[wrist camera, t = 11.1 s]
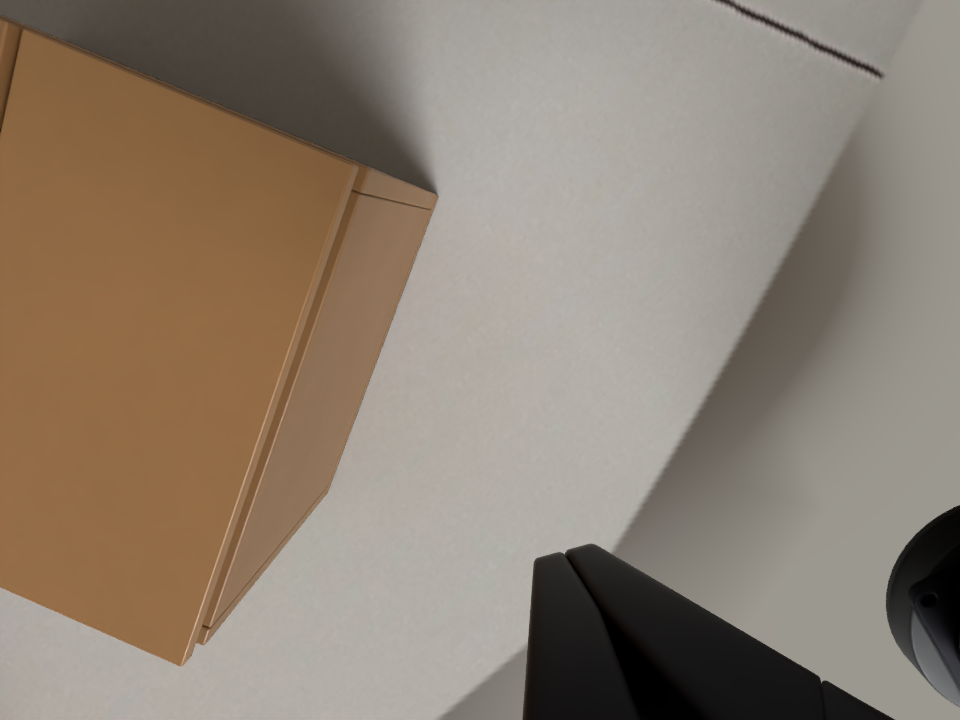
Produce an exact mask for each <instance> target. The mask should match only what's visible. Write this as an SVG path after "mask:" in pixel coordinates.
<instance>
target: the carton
mask: <svg viewBox="0 0 960 720" xmlns="http://www.w3.org/2000/svg"><path fill="white" fill-rule="evenodd" d="M23 29H28V30H31V31H33V32H36V33H38V34H41V35H43V36H45V37H48V38H50V39H53V40H55V41H58V42H60V43H62V44H65V45H67V46H70V47H72V48H74V49H77V50H79V51H82V52H84V53H87V54H89V55H91V56H94V57H96V58H99V59H101V60H103V61H106V62H108V63H111V64H113V65H116V66H118V67H120V68H123V69H125V70H128V71H130V72H133V73H135V74H137V75H140V76H142V77H145V78H147V79H149V80H152V81H154V82H157V83H159V84H162V85H164V86H166V87H169V88H171V89H174V90H176V91H178V92H181V93H183V94H186V95H188V96H191V97H193V98H195V99H198V100H200V101H203V102H205V103H207V104H210V105H212V106H215V107H217V108H220V109H222V110H224V111H227V112H229V113H232V114H234V115H237V116H239V117H241V118H244V119H246V120H249V121H251V122H253V123H256V124H258V125H261V126H263V127H266V128H268V129H270V130H273V131H275V132H278V133H280V134H282V135H285V136H287V137H290V138H292V139H295V140H297V141H299V142H302V143H304V144H307V145H309V146H311V147H314V148H316V149H319V150H321V151H324V152H326V153H328V154H331V155H333V156H336V157H338V158H341V159H343V160H345V161H348V162H350V163H353V164H355V165H357V166H358V172H357V175H356V178H355V181H354V184H353V187H352V189H351V192H350V195H349V198H348V201H347V204H346V207H345V210H344V213H343V216H342V219H341V222H340V224H339V227H338V230H337V233H336V236H335V239H334V242H333V245H332V248H331V251H330V254H329V256H328V259H327V262H326V265H325V268H324V271H323V274H322V277H321V280H320V283H319V286H318V289H317V291H316V294H315V297H314V300H313V303H312V306H311V309H310V312H309V315H308V318H307V321H306V324H305V326H304V329H303V332H302V335H301V338H300V341H299V344H298V347H297V350H296V353H295V356H294V358H293V361H292V364H291V367H290V370H289V373H288V376H287V379H286V382H285V385H284V388H283V391H282V393H281V396H280V399H279V402H278V405H277V408H276V411H275V414H274V417H273V420H272V423H271V425H270V428H269V431H268V434H267V437H266V440H265V443H264V446H263V449H262V452H261V455H260V458H259V460H258V463H257V466H256V469H255V472H254V475H253V478H252V481H251V484H250V487H249V490H248V493H247V495H246V498H245V501H244V504H243V507H242V510H241V513H240V516H239V519H238V522H237V525H236V527H235V530H234V533H233V536H232V539H231V542H230V545H229V548H228V551H227V554H226V557H225V560H224V562H223V565H222V568H221V571H220V574H219V577H218V580H217V583H216V586H215V589H214V592H213V595H212V597H211V600H210V603H209V606H208V609H207V612H206V615H205V618H204V621H203V624H202V627H201V629H200V632H199V635H198V638H197V641H196V643H199V644H201V645H205V644H206V643H207V642H208V640H209V639H210V638H211V637H212V635H213V634H214V633H215V632H216V631H217V629H218V628H219V627H220V626H221V624H222V623H223V622H224V621H225V619H226V618H227V617H228V616H229V614H230V613H231V612H232V611H233V609H234V608H235V607H236V606H237V604H238V603H239V602H240V601H241V600H242V598H243V597H244V596H245V595H246V593H247V592H248V591H249V590H250V588H251V587H252V586H253V585H254V583H255V582H256V581H257V580H258V578H259V577H260V576H261V575H262V573H263V572H264V571H265V570H266V568H267V567H268V566H269V565H270V564H271V562H272V561H273V560H274V559H275V557H276V556H277V555H278V554H279V552H280V551H281V550H282V549H283V547H284V546H285V545H286V544H287V542H288V541H289V540H290V539H291V537H292V536H293V535H294V534H295V533H296V531H297V530H298V529H299V528H300V526H301V525H302V524H303V523H304V521H305V520H306V519H307V518H308V516H309V515H310V514H311V513H312V511H313V510H314V509H315V508H316V506H317V505H318V504H319V503H320V502H321V500H322V499H323V498H324V497H325V495H326V494H327V493H328V490H329V488H330V485H331V482H332V480H333V477H334V474H335V472H336V469H337V466H338V464H339V461H340V458H341V456H342V453H343V450H344V448H345V445H346V442H347V440H348V437H349V434H350V432H351V429H352V426H353V424H354V421H355V418H356V416H357V413H358V410H359V408H360V405H361V402H362V400H363V397H364V394H365V392H366V389H367V386H368V384H369V381H370V378H371V376H372V373H373V370H374V368H375V365H376V362H377V360H378V357H379V354H380V352H381V349H382V346H383V344H384V341H385V338H386V336H387V333H388V330H389V328H390V325H391V322H392V320H393V317H394V314H395V312H396V309H397V306H398V304H399V301H400V298H401V296H402V293H403V290H404V288H405V285H406V282H407V280H408V277H409V274H410V272H411V269H412V266H413V264H414V261H415V258H416V256H417V253H418V250H419V248H420V245H421V242H422V240H423V237H424V234H425V232H426V229H427V226H428V224H429V221H430V218H431V216H432V213H433V210H434V208H435V205H436V202H437V200H438V195H437V194H434V193H432V192H430V191H427V190H425V189H422V188H420V187H417V186H415V185H413V184H410V183H408V182H405V181H403V180H400V179H398V178H396V177H393V176H391V175H388V174H386V173H384V172H381V171H379V170H376V169H374V168H371V167H369V166H367V165H364V164H362V163H359V162H357V161H355V160H352V159H350V158H347V157H345V156H342V155H340V154H338V153H335V152H333V151H330V150H328V149H325V148H323V147H321V146H318V145H316V144H313V143H311V142H309V141H306V140H304V139H301V138H299V137H296V136H294V135H292V134H289V133H287V132H284V131H282V130H279V129H277V128H275V127H272V126H270V125H267V124H265V123H263V122H260V121H258V120H255V119H253V118H250V117H248V116H246V115H243V114H241V113H238V112H236V111H234V110H231V109H229V108H226V107H224V106H221V105H219V104H217V103H214V102H212V101H209V100H207V99H204V98H202V97H200V96H197V95H195V94H192V93H190V92H188V91H185V90H183V89H180V88H178V87H175V86H173V85H171V84H168V83H166V82H163V81H161V80H158V79H156V78H154V77H151V76H149V75H146V74H144V73H142V72H139V71H137V70H134V69H132V68H129V67H127V66H125V65H122V64H120V63H117V62H115V61H113V60H110V59H108V58H105V57H103V56H100V55H98V54H96V53H93V52H91V51H88V50H86V49H83V48H81V47H79V46H76V45H74V44H71V43H69V42H67V41H64V40H62V39H59V38H57V37H54V36H52V35H50V34H47V33H45V32H42V31H40V30H37V29H35V28H33V27H30V26H28V25H25V24H23V23H20V22H18V21H16V20H13V19H11V18H8V17H6V16H3V15H1V14H0V132H1V128H2V123H3V118H4V114H5V109H6V105H7V100H8V95H9V91H10V86H11V81H12V77H13V72H14V67H15V63H16V58H17V53H18V49H19V44H20V40H21V35H22V30H23Z"/></svg>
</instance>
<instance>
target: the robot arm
mask: <svg viewBox="0 0 960 720" xmlns="http://www.w3.org/2000/svg"><path fill="white" fill-rule="evenodd" d="M926 594H930V595H929V597H928V598H927V599H926V600H922V601H921V599H922V597H923V596H924V595H926ZM907 598H908V601H909V603H910V605H911V606H912V608H913V610H914V612H915V613H916V615H917V617H918V619H919V621H920V622H921V624H922V626H923V628H924V629H925V631H926V633H927V635H928V637H929V638H930V640H931V642H932V644H933V646H934V647H935V649H936V651H937V653H938V654H939V656H940V658H941V660H942V662H943V663H944V665H945V667H946V669H947V670H948V672H949V674H950V676H951V678H952V679H953V681H954V683H955V685H956V686H957V688H958V690H959V692H960V562H959V563H957V564H955V565H953V566H950V567H948V568H946V569H944V570H942V571H939V572H937V573H935V574H933V575H931V576H929V577H926V578H924V579H922V580H920V581H918V582H916V583H914V584H913V585H911V586H910V588H909V589H908V591H907ZM523 720H894V719H893V718H891V717H889V716H887V715H885V714H884V713H882V712H880V711H878V710H877V709H875V708H873V707H871V706H869V705H868V704H866V703H864V702H862V701H861V700H859V699H857V698H855V697H853V696H852V695H850V694H848V693H847V692H845V691H844V690H842V689H840V688H838V687H837V686H835V685H833V684H832V683H830V682H828V681H823V682H822V683H821V680H820V677H819V676H817V675H816V674H814V673H812V672H811V671H809V670H807V669H806V668H804V667H802V666H801V665H799V664H797V663H796V662H794V661H792V660H790V659H789V658H787V657H785V656H784V655H782V654H780V653H778V652H777V651H775V650H773V649H772V648H770V647H768V646H767V645H765V644H763V643H762V642H760V641H758V640H757V639H755V638H753V637H751V636H750V635H748V634H746V633H745V632H743V631H741V630H740V629H738V628H736V627H734V626H733V625H731V624H729V623H728V622H726V621H724V620H723V619H721V618H719V617H718V616H716V615H714V614H712V613H711V612H709V611H707V610H706V609H704V608H702V607H700V606H699V605H697V604H695V603H694V602H692V601H690V600H689V599H687V598H685V597H684V596H682V595H680V594H679V593H677V592H675V591H673V590H672V589H670V588H668V587H666V586H665V585H663V584H662V583H660V582H658V581H656V580H655V579H653V578H651V577H650V576H648V575H646V574H645V573H643V572H641V571H640V570H638V569H636V568H634V567H633V566H631V565H629V564H628V563H626V562H624V561H622V560H621V559H619V558H617V557H616V556H614V555H612V554H611V553H609V552H607V551H606V550H604V549H602V548H601V547H599V546H597V545H595V544H587V545H583V546H579V547H576V548H572V549H569V550H567V551H566V553H565V555H564V554H563V553H560V552H558V553H554V554H550V555H547V556H543V557H539V558H537V559H536V560H535V561H534V567H533V581H532V595H531V609H530V623H529V637H528V650H527V664H526V680H525V693H524V707H523Z"/></svg>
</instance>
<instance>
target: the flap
mask: <svg viewBox="0 0 960 720" xmlns="http://www.w3.org/2000/svg"><path fill="white" fill-rule="evenodd" d="M357 172H358V166H357V165H355V164H353V163H350V162H348V161H345V160H343V159H341V158H338V157H336V156H333V155H331V154H328V153H326V152H324V151H321V150H319V149H316V148H314V147H311V146H309V145H307V144H304V143H302V142H299V141H297V140H295V139H292V138H290V137H287V136H285V135H282V134H280V133H278V132H275V131H273V130H270V129H268V128H266V127H263V126H261V125H258V124H256V123H253V122H251V121H249V120H246V119H244V118H241V117H239V116H237V115H234V114H232V113H229V112H227V111H224V110H222V109H220V108H217V107H215V106H212V105H210V104H207V103H205V102H203V101H200V100H198V99H195V98H193V97H191V96H188V95H186V94H183V93H181V92H178V91H176V90H174V89H171V88H169V87H166V86H164V85H162V84H159V83H157V82H154V81H152V80H149V79H147V78H145V77H142V76H140V75H137V74H135V73H133V72H130V71H128V70H125V69H123V68H120V67H118V66H116V65H113V64H111V63H108V62H106V61H103V60H101V59H99V58H96V57H94V56H91V55H89V54H87V53H84V52H82V51H79V50H77V49H74V48H72V47H70V46H67V45H65V44H62V43H60V42H58V41H55V40H53V39H50V38H48V37H45V36H43V35H41V34H38V33H36V32H33V31H31V30H28V29H23V30H22V35H21V40H20V44H19V49H18V53H17V58H16V63H15V67H14V72H13V77H12V81H11V86H10V91H9V95H8V100H7V105H6V109H5V114H4V118H3V123H2V128H1V132H0V587H1V588H3V589H6V590H8V591H10V592H12V593H15V594H17V595H19V596H22V597H24V598H26V599H28V600H31V601H33V602H35V603H37V604H40V605H42V606H44V607H47V608H49V609H51V610H53V611H56V612H58V613H60V614H62V615H65V616H67V617H69V618H72V619H74V620H76V621H78V622H81V623H83V624H85V625H87V626H90V627H92V628H94V629H97V630H99V631H101V632H103V633H106V634H108V635H110V636H112V637H115V638H117V639H119V640H122V641H124V642H126V643H128V644H131V645H133V646H135V647H137V648H140V649H142V650H144V651H146V652H149V653H151V654H153V655H156V656H158V657H160V658H162V659H165V660H167V661H169V662H171V663H174V664H176V665H178V666H183V665H184V664H185V663H186V661H187V660H188V659H189V658H190V657H191V656H192V653H193V650H194V647H195V644H196V641H197V638H198V635H199V632H200V629H201V627H202V624H203V621H204V618H205V615H206V612H207V609H208V606H209V603H210V600H211V597H212V595H213V592H214V589H215V586H216V583H217V580H218V577H219V574H220V571H221V568H222V565H223V562H224V560H225V557H226V554H227V551H228V548H229V545H230V542H231V539H232V536H233V533H234V530H235V527H236V525H237V522H238V519H239V516H240V513H241V510H242V507H243V504H244V501H245V498H246V495H247V493H248V490H249V487H250V484H251V481H252V478H253V475H254V472H255V469H256V466H257V463H258V460H259V458H260V455H261V452H262V449H263V446H264V443H265V440H266V437H267V434H268V431H269V428H270V425H271V423H272V420H273V417H274V414H275V411H276V408H277V405H278V402H279V399H280V396H281V393H282V391H283V388H284V385H285V382H286V379H287V376H288V373H289V370H290V367H291V364H292V361H293V358H294V356H295V353H296V350H297V347H298V344H299V341H300V338H301V335H302V332H303V329H304V326H305V324H306V321H307V318H308V315H309V312H310V309H311V306H312V303H313V300H314V297H315V294H316V291H317V289H318V286H319V283H320V280H321V277H322V274H323V271H324V268H325V265H326V262H327V259H328V256H329V254H330V251H331V248H332V245H333V242H334V239H335V236H336V233H337V230H338V227H339V224H340V222H341V219H342V216H343V213H344V210H345V207H346V204H347V201H348V198H349V195H350V192H351V189H352V187H353V184H354V181H355V178H356V175H357Z"/></svg>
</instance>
